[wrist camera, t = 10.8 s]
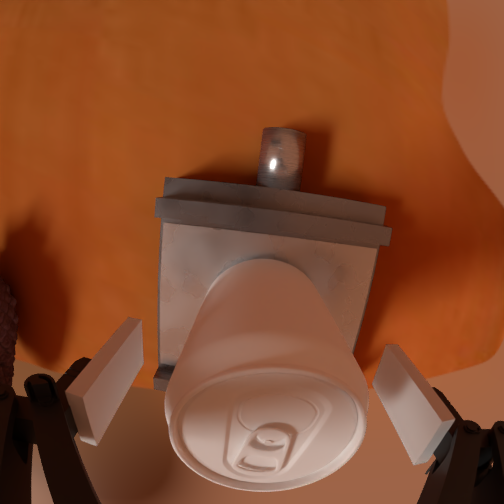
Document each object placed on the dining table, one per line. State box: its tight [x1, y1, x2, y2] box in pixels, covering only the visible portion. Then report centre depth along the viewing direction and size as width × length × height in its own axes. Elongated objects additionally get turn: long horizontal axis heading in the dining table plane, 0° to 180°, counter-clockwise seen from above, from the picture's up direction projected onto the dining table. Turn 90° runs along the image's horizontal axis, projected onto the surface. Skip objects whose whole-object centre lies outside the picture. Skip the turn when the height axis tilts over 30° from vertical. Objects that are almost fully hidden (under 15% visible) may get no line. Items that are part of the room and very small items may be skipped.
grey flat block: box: [153, 127, 392, 392], centre depth 21 cm, size 23×15×4 cm, turn 173°
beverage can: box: [165, 259, 369, 492], centre depth 15 cm, size 8×8×12 cm
